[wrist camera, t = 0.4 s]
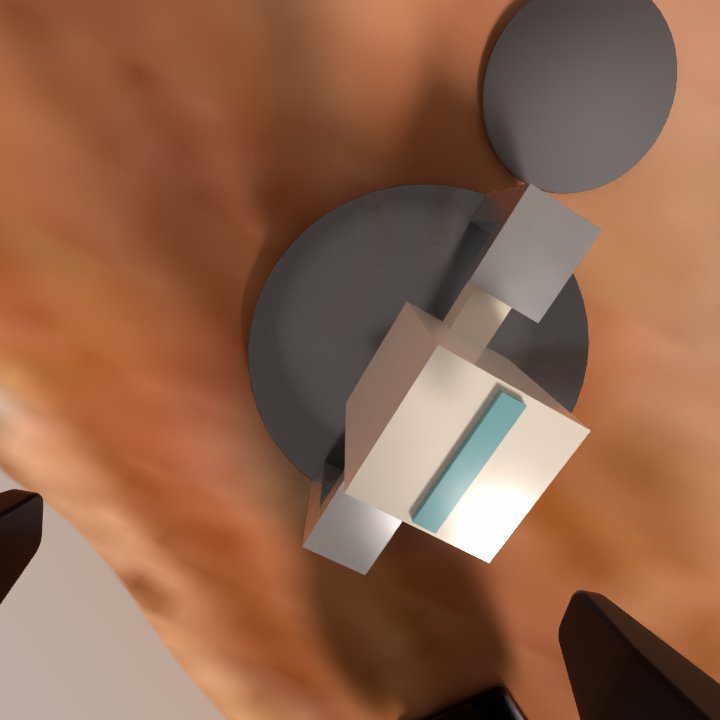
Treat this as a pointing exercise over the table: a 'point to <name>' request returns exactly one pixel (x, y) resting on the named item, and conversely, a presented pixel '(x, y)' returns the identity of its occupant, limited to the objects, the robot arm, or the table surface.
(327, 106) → the table surface
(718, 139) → the table surface
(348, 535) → the lugged metal disc
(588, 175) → the rubber pad
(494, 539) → the cream block with tab
